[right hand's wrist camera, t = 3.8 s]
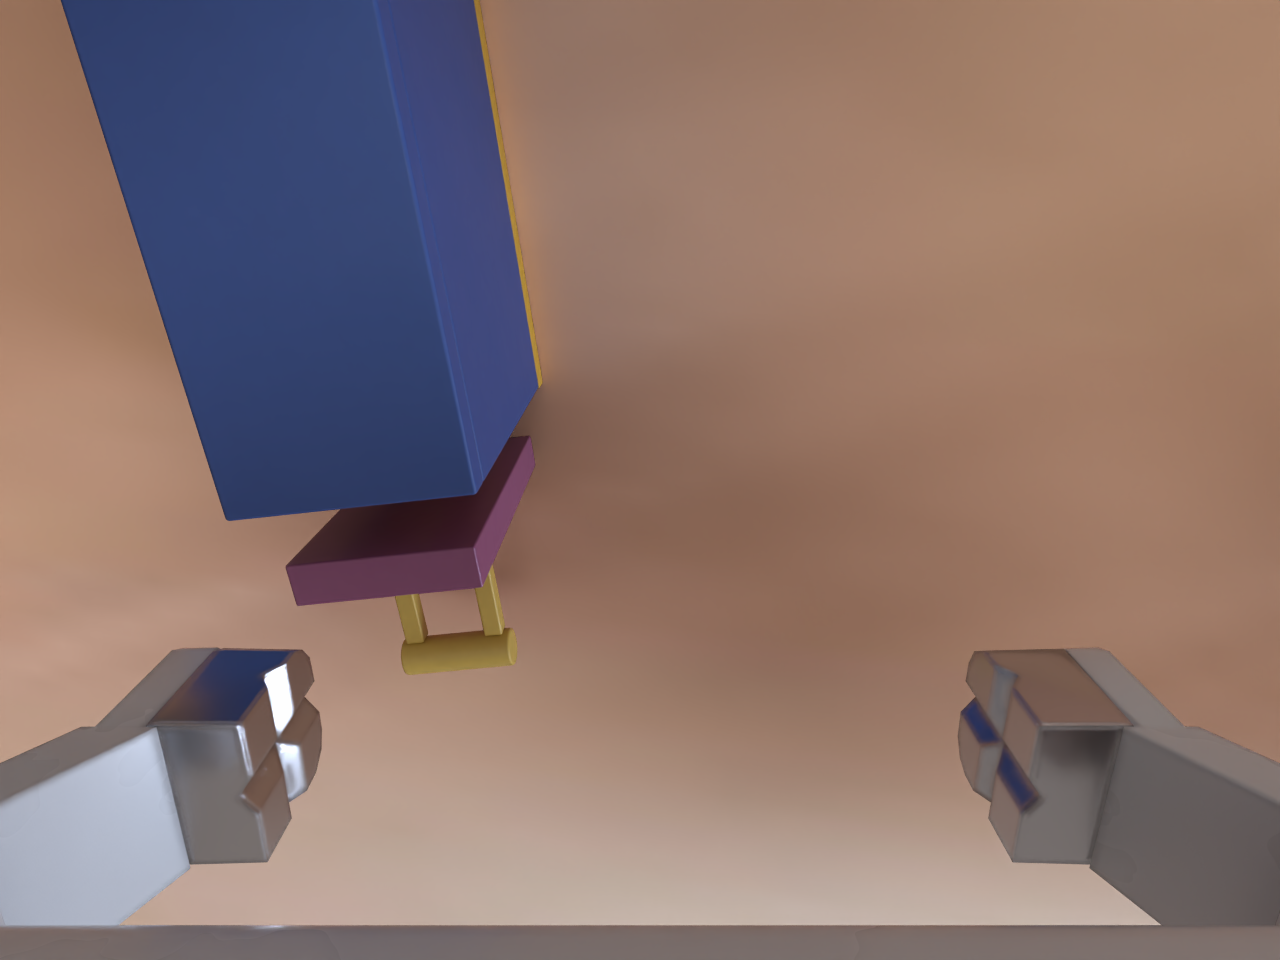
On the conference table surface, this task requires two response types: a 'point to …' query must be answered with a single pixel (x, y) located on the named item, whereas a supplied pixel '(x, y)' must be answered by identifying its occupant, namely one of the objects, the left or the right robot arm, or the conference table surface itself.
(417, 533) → the drawer
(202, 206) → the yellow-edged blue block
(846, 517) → the conference table surface
